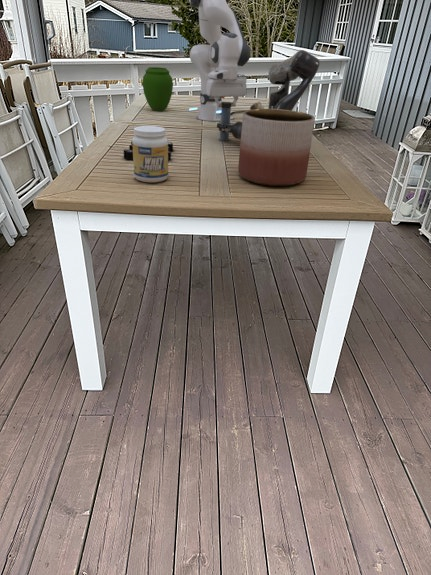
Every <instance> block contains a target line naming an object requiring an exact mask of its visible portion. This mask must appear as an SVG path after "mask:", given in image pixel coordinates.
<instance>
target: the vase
mask: <svg viewBox="0 0 431 575" xmlns="http://www.w3.org/2000/svg"><path fill="white" fill-rule="evenodd" d="M141 84H142V89H143V94H144V97H145V100H146V102H147V104H148V107H149V108H150V109H151V110H152V111H154V112H164V111H165V110H166V109H167V108H168V106H169V104H170V102H171V99H172V95H173V88H174V82H173V77H172V76H171V74H170V70H169V69H167V67H155V66H154V67H151V66H149V67H148V68H147V69H145V73H144V74H143V76H142V81H141Z"/></svg>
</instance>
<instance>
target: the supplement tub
mask: <svg viewBox="0 0 431 575" xmlns="http://www.w3.org/2000/svg"><path fill="white" fill-rule="evenodd" d="M133 130H134V131H133V134H134V136H133V137H132V140H131V141H132V145H133V160H132V161H133V176H134V178H135V179H136V180H138V181H139V182H143V183H161V182H164V181H166V180H167V179H168V177H169V160H168V142H169V141H168V138H167V137H166V128H164V127H162V126H157V125H139V126H136V127H134V128H133Z"/></svg>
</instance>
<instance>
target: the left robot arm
mask: <svg viewBox="0 0 431 575" xmlns="http://www.w3.org/2000/svg"><path fill="white" fill-rule="evenodd" d="M230 1H231V0H188V3H189V5H190V6H191V7H192V8H195V9H198V22H199V34H200V35H201V37H202V38H203V39H204V40H206V41H207V42H208V44H201V43H200V44H196V45H192V47H191V49H190V51H189V60H190V62H191V63H192V65H194V66H195V68H196V69H197V71H198V73H199V78H200V94H199V102H200V104H199V111H198V116H197V119H198V120H201V121H209V122H221V102H223V101H222V99H223V100H225V98H226V97H228V98H229V97H233V100H232V101H230V102H231V108H232V107H233V108H234V107H236V106H237V102H238V100H239V97H246V95H247V79H248V78H247V76H246V75H245V74H241V73H240V74H239V73H238V69H239V67H244V66H245V65H246V64H247V63H248V62H249V61H250V57H251V49H250V46H249V45H248V42H247V41H246V38H245V36H244V33H243V31H242V27H241V24H240V22H239V19H238V15H237V14H236V13H235V12H234V10H232V9H231V7H230V6H229V5H228V3H230ZM221 28H224V29H226V30H227V31H228V32H223V33H222V29H221ZM213 68H217V69H215V70H213ZM188 109H189V111H193V110H198V107H193V108H192V107H191V108H188ZM245 111H246V110H235V111H231V112H230V120H234V117H233V116H232V115H233V114H239V113H240V114H241V113H243V112H245Z"/></svg>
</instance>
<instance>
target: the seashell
mask: <svg viewBox="0 0 431 575" xmlns="http://www.w3.org/2000/svg"><path fill="white" fill-rule="evenodd" d="M252 109H265V107H264V106H263V105H262V103H261V101H258V102H255V103H253V104H252V105H251V106H250V107H249V110H252Z"/></svg>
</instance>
